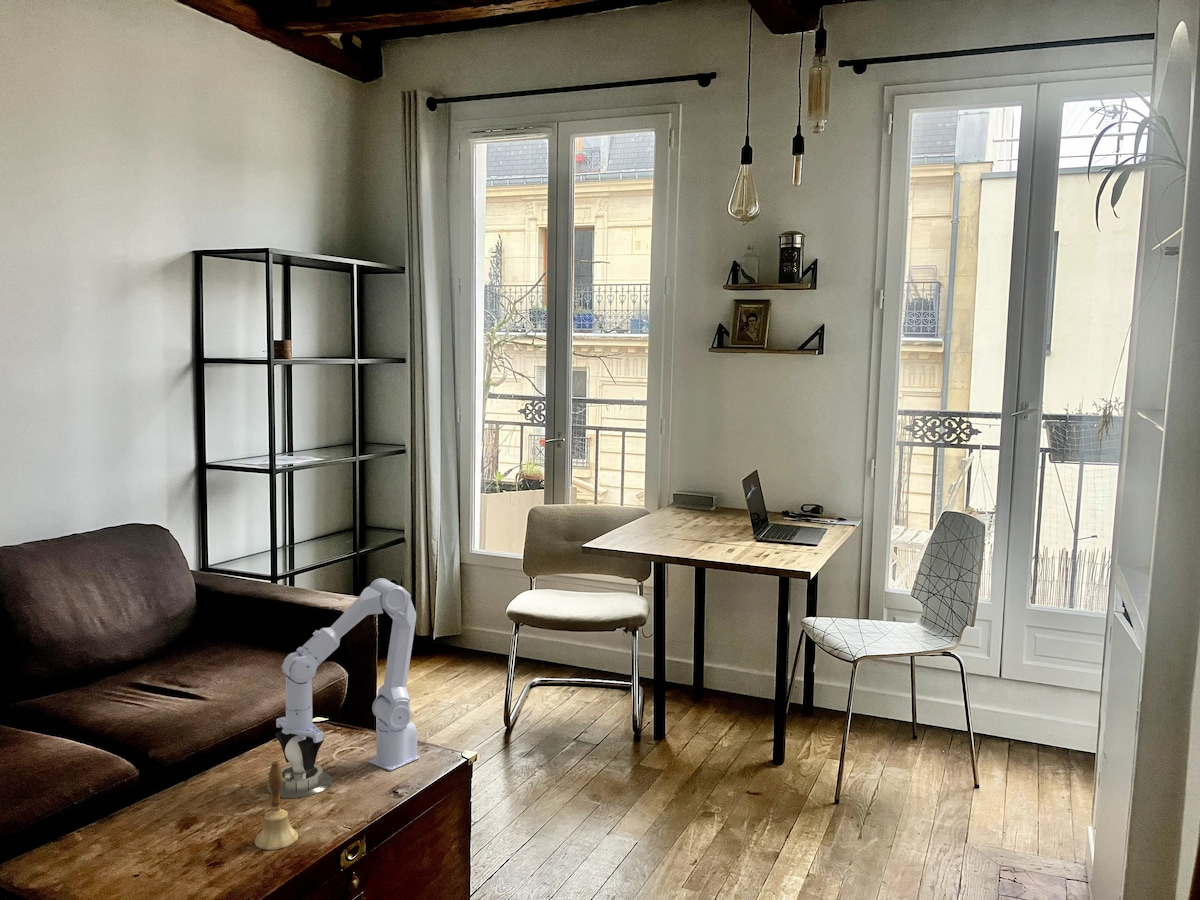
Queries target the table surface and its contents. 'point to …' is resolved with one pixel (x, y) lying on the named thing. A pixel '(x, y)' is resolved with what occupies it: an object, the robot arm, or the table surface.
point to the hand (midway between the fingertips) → (299, 764)
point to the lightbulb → (295, 757)
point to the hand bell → (276, 818)
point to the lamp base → (322, 787)
